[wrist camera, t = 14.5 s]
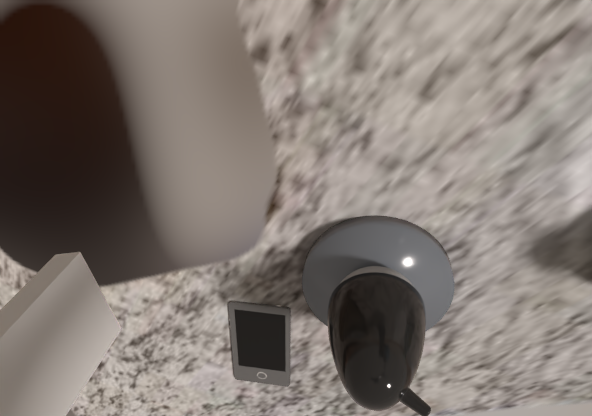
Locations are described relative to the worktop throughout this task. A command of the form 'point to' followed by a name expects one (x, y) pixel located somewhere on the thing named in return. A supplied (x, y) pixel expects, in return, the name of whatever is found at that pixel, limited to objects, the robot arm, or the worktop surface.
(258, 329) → the smartphone
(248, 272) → the worktop surface
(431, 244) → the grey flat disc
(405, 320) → the pump dispenser
